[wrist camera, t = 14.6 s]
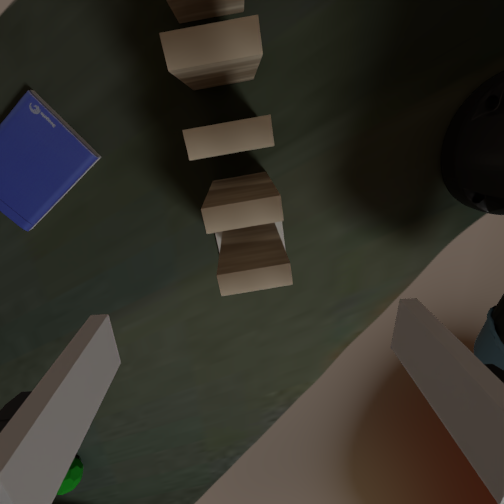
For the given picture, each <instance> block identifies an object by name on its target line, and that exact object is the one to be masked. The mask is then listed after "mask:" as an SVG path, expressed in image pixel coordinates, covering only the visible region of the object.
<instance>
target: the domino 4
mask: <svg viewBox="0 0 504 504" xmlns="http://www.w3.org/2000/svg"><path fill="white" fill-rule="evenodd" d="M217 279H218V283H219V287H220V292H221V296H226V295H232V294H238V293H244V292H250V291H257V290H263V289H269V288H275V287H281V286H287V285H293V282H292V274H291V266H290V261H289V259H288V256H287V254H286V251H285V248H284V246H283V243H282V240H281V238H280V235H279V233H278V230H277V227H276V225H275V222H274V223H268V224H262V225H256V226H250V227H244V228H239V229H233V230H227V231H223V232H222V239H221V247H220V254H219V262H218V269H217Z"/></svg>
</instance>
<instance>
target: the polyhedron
mask: <svg viewBox="0 0 504 504" xmlns="http://www.w3.org/2000/svg"><path fill="white" fill-rule="evenodd" d="M82 473H83V464H82V463H81V461H80V459H78V458H75V457H74V459H73V461H72V463H71V465H70V467H69V470H68V472H67V474H66V476H65V478H64V480H63V482H62V484H61V486H60V488H59V490H58V492H57V495H63V494H65V493H68V492H70V491H72V490H73V489H74V488H75V487H76V486H77V484H78V483H79V482H80V480H81V478H82Z"/></svg>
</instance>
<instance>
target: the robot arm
mask: <svg viewBox="0 0 504 504" xmlns="http://www.w3.org/2000/svg"><path fill="white" fill-rule="evenodd" d="M441 168H442V175H443V178H444V181H445V184H446V186H447V188H448V190H449V191H450V193H451V194H452V195H453V196H454V197H455V198H456V199H457V200H458V201H459V202H461V203H462V204H464V205H466V206H468V207H471V208H473V209H476V210H479V211H482V212H485V213H490V214H496V215H504V71H503V72H501V73H499V74H497V75H495V76H494V77H492V78H490V79H489V80H487V81H486V82H485V83H483V84H482V85H481V86H480V87H479V88H477V89H476V90H475V91H474V92H473V93H472V94H471V95H470V96H469V97H468V99H467V100H466V101H465V102H464V103H463V105H462V106H461V107H460V109H459V110H458V112H457V113H456V115H455V116H454V118H453V120H452V122H451V124H450V126H449V128H448V131H447V133H446V136H445V139H444V143H443V148H442V155H441ZM391 348H392V350H393V351H394V353H395V354H396V356H397V357H398V359H399V360H400V362H401V363H402V364H403V366H404V367H405V369H406V370H407V372H408V373H409V375H410V376H411V377H412V379H413V380H414V382H415V383H416V385H417V386H418V388H419V389H420V391H421V392H422V394H423V395H424V396H425V398H426V399H427V401H428V402H429V404H430V405H431V407H432V408H433V410H434V411H435V412H436V414H437V415H438V417H439V418H440V420H441V421H442V423H443V424H444V426H445V427H446V429H447V430H448V431H449V433H450V434H451V436H452V437H453V439H454V440H455V441H456V443H457V444H458V446H459V448H460V449H461V450H462V452H463V453H464V455H465V456H466V458H467V459H468V460H469V462H470V463H471V465H472V466H473V468H474V469H475V471H476V472H477V474H478V475H479V477H480V478H481V480H482V481H483V482H484V484H485V485H486V487H487V488H488V490H489V491H490V493H491V494H492V496H493V497H494V498H495V500H496V501H497V503H498V504H504V294H503V296H502V298H501V299H500V301H499V302H498V304H497V305H496V306H494V307H492V308H490V310H489V311H488V314H487V320H486V322H485V324H484V326H483V328H482V329H481V331H480V333H479V335H478V337H477V338H476V341H475V345H474V354H473V353H472V352H471V351H470V350H469V349H468V348H467V347H466V346H465V345H463V343H462V342H461V341H459V340H458V338H456V337H455V336H454V335H453V334H452V333H451V332H450V331H449V330H448V329H447V328H446V327H445V326H444V325H443V324H442V323H441V322H440V321H439V320H438V319H437V318H436V317H435V316H434V315H433V314H432V313H431V312H430V311H429V310H428V309H427V308H426V307H425V306H424V305H423V304H422V303H421V302H420V301H418V299H416V298H415V299H400V301H399V306H398V312H397V317H396V322H395V327H394V333H393V338H392V343H391ZM120 363H121V361H120V357H119V353H118V349H117V346H116V342H115V338H114V334H113V331H112V327H111V323H110V319H109V315H108V314H105V315H90V317H89V318H88V319H87V321H86V322H85V323H84V325H83V326H82V327H81V328H80V330H79V331H78V332H77V334H76V335H75V336H74V338H73V339H72V340H71V341H70V343H69V344H68V345H67V347H66V348H65V349H64V351H63V352H62V353H61V354H60V356H59V357H58V358H57V360H56V361H55V362H54V364H53V365H52V366H51V368H50V369H49V370H48V371H47V373H46V374H45V375H44V377H43V378H42V379H41V381H40V382H39V383H38V384H37V386H36V387H35V388H34V390H33V391H31V392H21V393H20V394H19V395H17V396H16V397H15V398H13V399H12V400H11V401H10V402H8V403H7V404H6V405H5V406H4V407H3V408H2V409H1V411H0V504H52V502H53V500H54V498H55V496H56V494H57V492H58V490H59V488H60V486H61V484H62V482H63V480H64V478H65V476H66V474H67V472H68V470H69V467H70V465H71V463H72V461H73V459H74V457H75V455H76V453H77V451H78V449H79V447H80V445H81V443H82V441H83V439H84V437H85V435H86V433H87V431H88V429H89V427H90V425H91V423H92V420H93V418H94V416H95V414H96V412H97V410H98V408H99V406H100V404H101V402H102V400H103V398H104V396H105V394H106V392H107V390H108V388H109V386H110V384H111V382H112V380H113V378H114V376H115V374H116V371H117V369H118V367H119V365H120Z"/></svg>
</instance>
